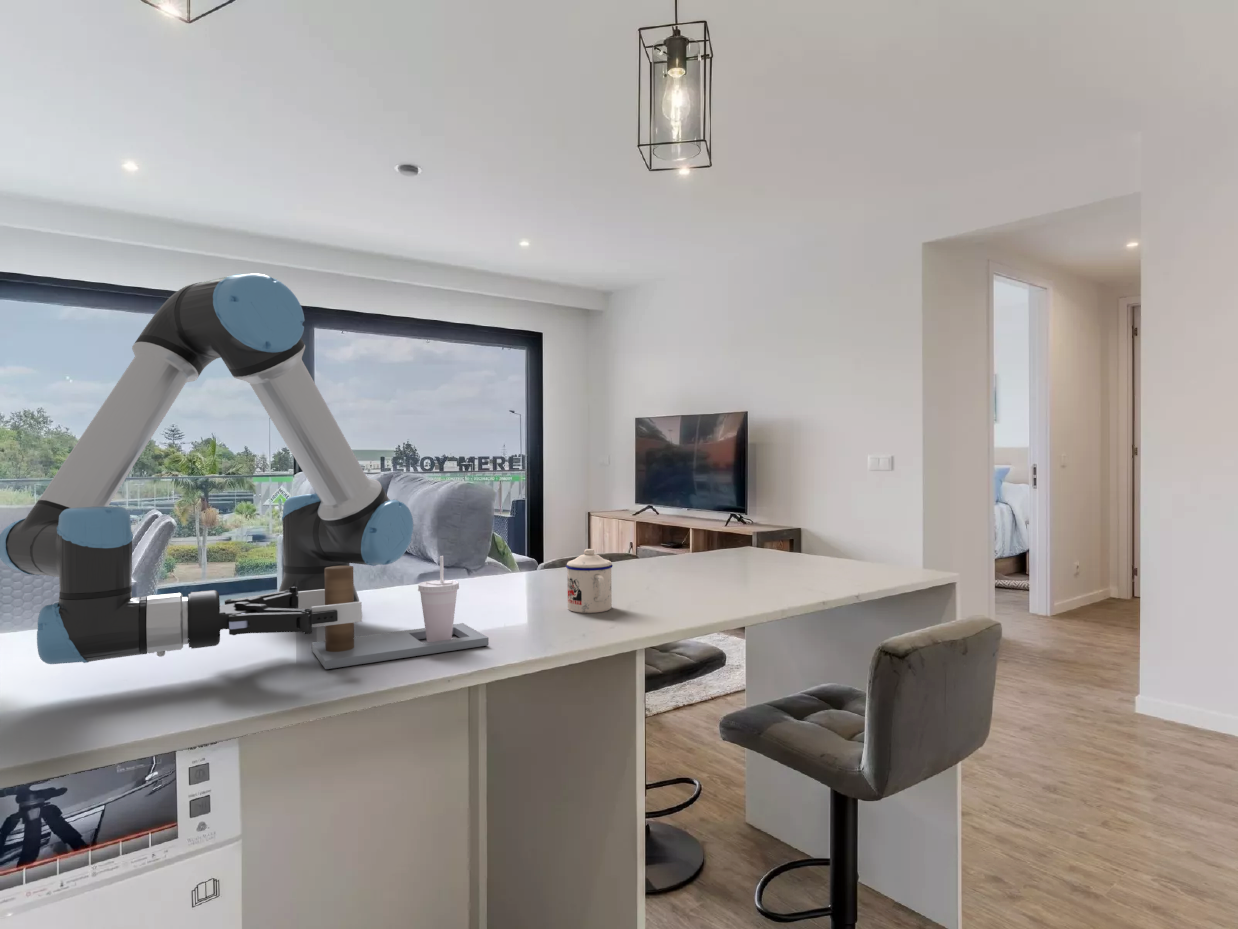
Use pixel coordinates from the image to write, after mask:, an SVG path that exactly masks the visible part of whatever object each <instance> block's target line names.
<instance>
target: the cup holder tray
mask: <svg viewBox="0 0 1238 929" xmlns="http://www.w3.org/2000/svg"><path fill="white" fill-rule="evenodd" d="M354 582H355V580H354V566H352V565H350V566H332V567H326V568H325V605H332V604H342V603H351V602H354V586H355V584H354ZM453 635H455V636H457V638H452V639H449V640H442V641H435V642H427V641H426V642H423V643H422V641H420V640H423V639H424V640H426V639H427V638H426V631H425V627H423V628H414V629H407V630H405V629H404V630H398V631H392V632H383V633H376V634H374V633H373V634H366V635H359V636H355V622H353V623H345V624H336V625H328V626H324V638H325V639H324V640H322V641H314V642H311V651H312V652H313V654H314V655H315V656H316V658H317V660H318V661H319V663H320V664H321V665H322V667H323V668H324V669H325V670H329V669H337V668H342V667H343V668H345V667H350V666H358V665H362V664H363V665H364V664H371V663H377V662H383V661H390V660H391V661H393V660H396V659H397V660H398V659H403V658H410V657H411V658H412V657H416V656H417V657H419V656H423V655H432V654H437V653H439V654H440V653H444V652H451V651H457V650H459V651H460V650H465V649H471V648H479V647H484V646H489V644H490V642H489V637H488V636H486V635H485V634H483V633H481V632H479V631H477V630H476V629H474V628H473V627H470V626H469V625H467V624H465V623H463V622H461V623H460V622H459V623H453V631H452V636H453Z"/></svg>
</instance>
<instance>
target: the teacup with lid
mask: <svg viewBox="0 0 1238 929" xmlns="http://www.w3.org/2000/svg"><path fill="white" fill-rule="evenodd" d="M583 553H584V554H581V555H579V556H577V557H576V558H574V559H572V560H568V561H567V563H566V565H565V567H566V569H567V571H566V572H567V584H566V585H567V609H568V611H570V612H574V613H581V614H595V613H596V614H597V613H602V612H607V611H610V610H611V609H612V605H613V604H612V601H613V600H612V592H613V591H612V568H613V563H612V561H611V560H608V559H606V558H603V557H602V556H600V555H598V554H596V553H595V549H593V548H586V549H584V551H583Z"/></svg>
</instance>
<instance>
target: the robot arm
mask: <svg viewBox="0 0 1238 929" xmlns="http://www.w3.org/2000/svg"><path fill="white" fill-rule="evenodd" d="M305 320H306V319H305V315H304V310H303V307H302V305H301V303H300V301H299V299H298V298H297V297H296V294H294V293H293V291H292V290H291V289H290V288H289V287H288V286H287V285H286V284H284V283H283V282H282V281H280V280H278V278H277V279H276V278H274V277H272V276H269V275H267V274H262V273H235V274H233V275H227V276H223V277H219V278H215V279H212V280H206V281H203V282H202V281H201V282H196V283H191V284H188V285H186V286H183V287H182V288H180V289H179V290H177V291H175V292H174V293H173V294H172V295H171V296H169V298H167V300H166V301H165V302H163V304H162V305H161V306H160V307H159V309H158V310H157V311H156V313H154V315H153V316H152V317H151V318H150V320H149V322H148V324H146V326H145V327H144V329H143V330H142V331H141V333H140V334H139V336H138V337H137V339H136V340H135V342H134V343H133V345H131V346H132V348H131V349H132V353H133V355H134V358H133V359H132V360H131V362H130V363H129V364H128V366H127V367H126V370H125V371H124V372H123V373H122V375H121V377H120V378H119V380H118V381H117V383H116V384H115V386H113V389H112V390H111V392H110V393H109V394H108V396H107V398H105V400H104V402H103V404H101V407H100V408H99V409H98V411H97V412H96V413H95V416H94V417H93V419H92V420H91V421H90V423H89V424H88V426H87V427H86V429H85V430H84V432H83V433H82V435H81V436H80V438H79V439H78V441H77V443H76V444H75V445H74V447H73V448H72V450H71V451H70V453H68V456H67V457H66V459H65V460H64V461H63V463H62V464H61V466H60V467H59V469H58V471H57V472H56V474H55V475H54V476H53V478H52V479H51V480H50V482H49V484H48V485H47V487H46V488H45V490H44V491H43V492H42V494H41V496H40V497H39V499H37V502H36V503H35V504H34V506H33V507H32V508H31V510H30V511H29V512H28V514H27V516H26V517H25V518H22V519H18V520H16V521H14V522H12V523H10V524H9V525H7V526H6V527H5V528H4V529H3V530H2V531H1V533H0V561H1V562H2V563H3V564H4V565H6V567H9V568H10V569H12V570H13V571H18V572H21V573H23V574H26V575H30V576H31V575H33V576H47V577H48V576H49V577H54V578H58V584H59V586H58V588H59V597H58V602H55V603H52V604H46V605H44V606H43V607H41V609H40V610H39V614H38V618H37V631H36V647H37V653H38V657H39V658H40V660H41V661H42V662H44V663H45V664H48V665H60V664H61V665H63V664H73V663H83V664H87V663H90V662H95V661H96V662H97V661H102V660H103V661H105V660H110V659H117V658H124V657H132V656H139V655H148V654H154V653H156V656H158V657H161V658H162V657H164V656H165V655H166V652H174V651H181V650H182V649H183V648H184V645H188V648H191V650H192V649H193V650H194V649H201V648H208V647H209V648H210V647H215V646H218V645H219V644H220V642H221V631H222V630H228V635H231V636H237V635H245V634H271V633H273V634H275V633H277V634H278V633H304V635H310V634H313V628H318V627H325V626H328V625H336V624H345V623H353V622H354V623H360V622H363V620H362V619H363V618H362V617H363V615H362V613H363V612H362V610H363V609H362V601H360V597H359V596H358V592H357V590H356V586H355V585H354V602H351V603H342V604H332V605H325V568H326V567H332V566H351V565H350V564H357V565H365V566H366V565H367V566H370V567H371V566H372V567H374V566H378V565H379V566H386V565H391V564H393V563H396V562H397V561H398V560H399V559H401V558H402V557H403V556H404V554H405V553H406V551H407V550H408V548H409V547H410V545H411V542H412V536H413V533H414V519H413V514H412V512H411V509H410V508H409V507H408V506H407V504H405V503H404V502H402V501H401V500H398V499H390V498H389V496H388V494H387V492H386V490H384V488H383V486H382V484H381V482H380V481H379V480H377V479H374V478H369V477H368V476H367V475H366V473H365V471H364V469H363V467H362V466H361V464H360V462H359V461H358V459H357V456H356V455H355V454H354V453H355V452H354V451H353V450H352V448H351V446H350V444H349V443H348V442H349V441H347V439H346V437H345V435H344V433H343V432H342V430H341V428H340V426H339V425H338V423H337V421H336V419H335V417H334V415H333V414H332V412H331V410H330V408H329V406H328V404H327V403H326V401H325V399H324V397H323V395H322V394H321V391H320V390H319V388H318V386H317V385H316V383H315V381H314V379H313V378H312V375H311V374H310V372H309V370H308V368H307V366H306V365H305V362H304V361H303V360H302V359H303V355H304V352H305V349H306V345H305V343H304V341H303V339H302V336H303V334H304V330H305V326H304V325H303V323H304V322H305ZM219 358H221V360H222V361H223V363H224V365H225V366H226V368H227V369H228V371H229V373H230V374H231V375H232V377H233V378H234V379H235V380H240V381H244V382H246V383H248V384H249V385H250V386H251V388H252V390H253V392H254V393H255V395H256V397H257V399H258V400H259V401H260V403H261V405H262V406H263V407H264V408H263V409H264V410H265V411H266V413H267V414H268V416H269V418H270V419H271V421H272V423H273V424H274V427H275V428H276V430H277V431H278V433H279V434H280V436H281V438H282V439H283V441H284V443H285V444H286V446H287V447H288V449H289V451H290V453H291V454H292V456H293V457H294V459H295V461H296V462H297V464H298V466H299V468H300V469H301V471H302V473H303V475H304V476H305V478H307V480H308V483H309V484H310V486H311V487H312V489H313V490H314V492H315V493H308V494H300V495H294V496H290V497H288V498H287V499H285V501H284V502H283V509H282V516H281V522H282V551H283V552H282V554H283V556H282V558H283V576H282V581H281V583H280V587H279V590H278V591H275V592H271V593H270V592H269V593H264V594H258V595H251V596H247V597H241V598H227V599H225V600H224V604H222V605H220V604H221V602H220V593H219V591H217V590H216V589H213V590H212V589H211V590H201V591H190V593H188V594H187V596H183V594H182V593H181V592H176V593H174V592H173V593H162V594H150V595H146V596H143V595H142V596H132V595H133V593H132V591H133V585H132V583H133V582H132V576H133V575H132V574H133V573H132V572H133V570H132V569H133V540H134V534H133V531H132V522H131V514H130V512H129V510H128V509H127V508H125V507H123V506H110V504H111V502H112V501H113V499H114V498H115V496H116V494H117V493H118V491H119V490H120V488H121V487H122V485H123V483H124V482H125V480H126V479H127V477H128V475H129V474H130V472H131V470H132V469H133V467H134V466H135V465H136V463H137V462H138V459H139V458H140V456H141V454H143V452H144V450H145V448H146V447H147V446H148V444H149V442H150V440H151V439H152V438H153V436H154V434H155V433H156V431H157V429H158V428H159V426H160V424H161V423H162V422H163V420H164V419H165V417H166V415H168V414H167V413H168V412H169V410H170V409H171V407H172V406H173V404H174V403H175V401H176V399H177V398H178V396H179V395H180V393H181V391H182V390H183V388H184V387H185V385H186V383H191V382H195V381H197V379H198V378H199V376H200V375H201V374H202V372H203V371H204V370H205V368H206V367H207V366H208V365H209V364H211V363H213V362H214V361H215V360H218V359H219Z"/></svg>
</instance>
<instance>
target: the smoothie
mask: <svg viewBox="0 0 1238 929" xmlns="http://www.w3.org/2000/svg"><path fill="white" fill-rule="evenodd" d="M444 563H445V562H444V555H440V556H439V579H438V580H435V579H434V580H427V581H422V582H419V583H418V584H417V586H418V589H417V591H418V592H419V594H420V602H421V608H422V614H423V622H424V628H425V631H426V638H425V639H426V643H427V642H435V641H442V640H449V639H453V635H452V631H453V624H454V622H455V621H454V620H455V614H456V613H455V612H456V604H457V596H458V595H457V594H458V590H459V589H460V586H459V585H460V584H459V581H457V580H454V579H453V580H452V579H444V574H445V573H444V570H445V569H444V567H445V566H444V565H445V564H444Z"/></svg>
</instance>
